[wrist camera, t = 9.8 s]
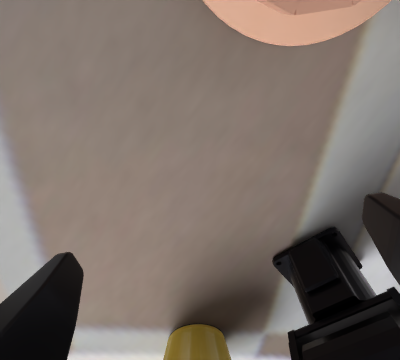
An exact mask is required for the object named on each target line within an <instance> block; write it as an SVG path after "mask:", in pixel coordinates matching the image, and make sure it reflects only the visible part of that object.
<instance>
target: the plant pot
mask: <svg viewBox="0 0 400 360" xmlns="http://www.w3.org/2000/svg"><path fill="white" fill-rule="evenodd" d="M163 360H231V357H230V354H229V351H228V348H227V344H226V341H225V338H224V336H223V334H222V332H221V331H220V330H218V329H217V328H215V327H212V326H209V325H203V324H193V325H187V326H183V327H181V328H178V329H177V330H175V331H174V332H173V333H172V334H171V335H170V337H169V339H168V343H167V347H166V351H165V355H164V359H163Z"/></svg>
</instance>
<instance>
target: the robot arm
mask: <svg viewBox="0 0 400 360" xmlns="http://www.w3.org/2000/svg"><path fill="white" fill-rule="evenodd" d="M362 220H363V223H364V225H365V227H366V229H367V231H368V233H369V235H370V236H371V238H372V240H373V242H374V244H375V245H376V247H377V249H378V251H379V253H380V255H381V256H382V258H383V260H384V262H385V264H386V265H387V267H388V269H389V270H390V272H391V273H392V275H393V276H394V278H395V279H396V281H397V282H398V283H399V285H400V199H398V198H396V197H393V196H390V195H388V194H385V193H382V192H378V193H373V194H368V195H366V196H365V198H364V205H363V213H362ZM272 262H273V265H274V266H275V267H276V268H277V269H278V271H279V272H280V273H281V274H282V275H283V276H284V277H285V278H286V279H287V280H288V281H289V282H290V283H291V284H292V285H293V286H294V288H295V291H296V293H297V296H298V298H299V301H300V303H301V306H302V309H303V311H304V314H305V316H306V319H307V321H308V324H309V325H307V326H305V327H302V328H300V329H298V330H292V331H290V332H288V338H289V349H290V354H291V360H400V294H399V292H398V291H397V290H396V289H395V287H392V288H390V289H387V291H386V292H384V293H382V294H379V295H376V294H375V292H374V291H373V289H372V288H371V286H370V285H369V283H368V282H367V280H366V279H365V277H364V276H363V274H362V273H361V271H360V269H361V268H362V264H361V263H360V261H359V260H358V259H357V257H356V256H355V254H354V253H353V251H352V250H351V248H350V247H349V245H348V244H347V242H346V241H345V239H344V238H343V236H342V235H341V233H340V232H339V230H338V229H337V228H335V227H332V228H330V229H328V230H326V231H324V232H322V233H320V234H318V235H316V236H314V237H313V238H311V239H309V240H307V241H305V242H303V243H301V244H299V245H297V246H295V247H294V248H292V249H290V250H288V251H286V252H284V253H282V254H280V255H278V256H276V257H275V258H273V260H272ZM83 276H84V275H83V269H82V267H81V266H80V264H79V263H78V261H77V260H76V258H75V257H74V255H73V254H72V253H71V252H65V253H60V254H57V255H55V256H54V257H53V258H52V259H51V260H50V261H49V262H47V263H46V264H45V265H44V266H43V267H42V268H41V269H39V270H38V271H37V272H36V273H35V274H34V275H33V276H31V277H30V278H29V279H28V280H27V281H26V282H25V283H23V284H22V285H21V286H20V287H19V288H18V289H17V290H16V291H14V292H13V293H12V294H11V295H10V296H9V297H8V298H6V299H5V300H4V301H3V302H2V303H1V304H0V360H67V357H68V353H69V350H70V346H71V342H72V338H73V334H74V330H75V326H76V321H77V316H78V309H79V303H80V296H81V290H82V283H83Z"/></svg>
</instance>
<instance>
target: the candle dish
mask: <svg viewBox="0 0 400 360" xmlns="http://www.w3.org/2000/svg"><path fill="white" fill-rule="evenodd" d="M390 1H391V0H203V2H204V3H205V4H206V5H207V6H208V7H209V8H210V9H211V11H212V12H213V13H214V14H215V15H216V16H217V17H218V18H220V19H221V20H222V21H223V22H225V23H226V24H227V25H228V26H230V27H231V28H233V29H235V30H236V31H238V32H240V33H242V34H243V35H245V36H248V37H250V38H253V39H255V40H258V41H261V42H265V43H269V44H274V45H284V46H298V45H309V44H313V43H318V42H322V41H325V40H328V39H331V38H334V37H336V36H339V35H341V34H343V33H345V32H347V31H349V30H351V29H353V28H355V27H357V26H358V25H360V24H361V23H363V22H364V21H366V20H367V19H369V18H371V17H372V16H373V15H374V14H376V13H377V12H378V11H379V10H381V9H382V8H383V7H384V6H386V5H387V4H388V3H389V2H390Z"/></svg>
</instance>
